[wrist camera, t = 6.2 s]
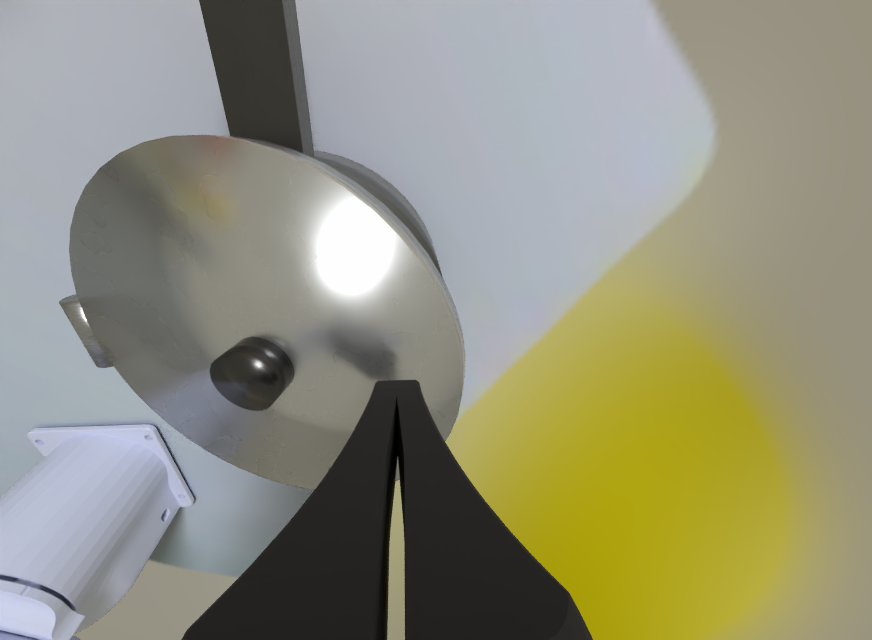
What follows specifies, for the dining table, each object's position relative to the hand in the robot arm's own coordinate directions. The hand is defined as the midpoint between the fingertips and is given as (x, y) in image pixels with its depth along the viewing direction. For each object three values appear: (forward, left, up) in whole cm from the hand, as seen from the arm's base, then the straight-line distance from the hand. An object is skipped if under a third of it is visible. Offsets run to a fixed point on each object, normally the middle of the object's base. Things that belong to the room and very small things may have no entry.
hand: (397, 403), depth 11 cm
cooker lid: (0, +5, -4) cm, 6 cm away
